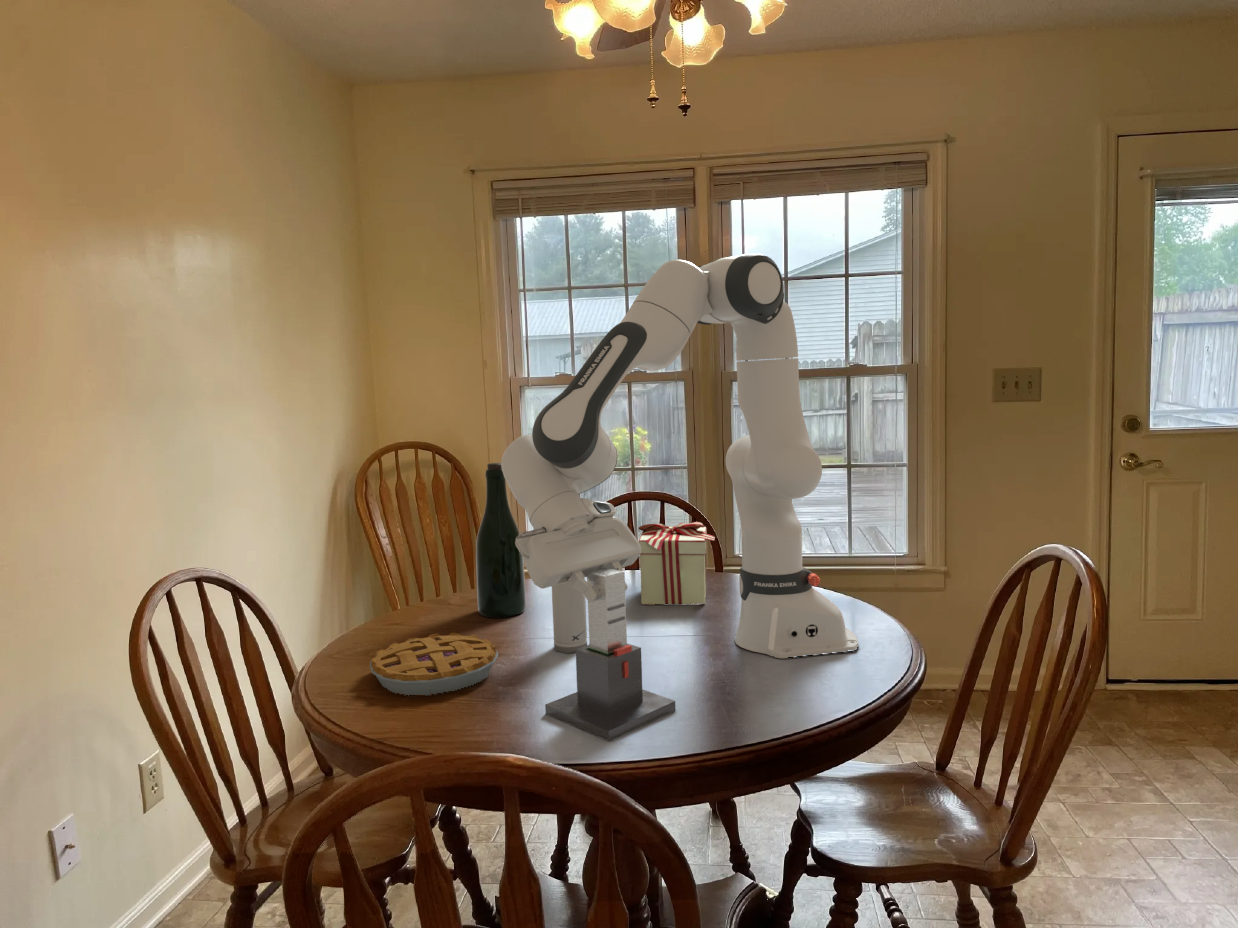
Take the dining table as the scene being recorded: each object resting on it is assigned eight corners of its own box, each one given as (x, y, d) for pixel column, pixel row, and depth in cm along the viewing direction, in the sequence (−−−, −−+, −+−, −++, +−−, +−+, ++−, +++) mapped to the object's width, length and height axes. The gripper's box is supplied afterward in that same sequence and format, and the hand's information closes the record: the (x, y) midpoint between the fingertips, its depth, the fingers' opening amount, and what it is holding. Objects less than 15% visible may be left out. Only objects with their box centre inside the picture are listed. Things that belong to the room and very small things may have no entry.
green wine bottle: (525, 603, 185) (518, 459, 181) (527, 616, 174) (520, 464, 171) (478, 607, 183) (470, 461, 179) (478, 620, 173) (469, 466, 169)
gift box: (640, 610, 176) (637, 532, 174) (640, 588, 195) (638, 517, 193) (718, 609, 176) (717, 530, 174) (712, 586, 194) (710, 515, 192)
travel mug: (584, 653, 150) (580, 547, 148) (550, 652, 151) (545, 547, 149) (592, 642, 156) (588, 540, 154) (559, 641, 157) (555, 540, 155)
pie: (357, 670, 146) (355, 643, 145) (473, 646, 157) (471, 621, 156) (389, 711, 127) (387, 680, 127) (518, 681, 138) (517, 652, 138)
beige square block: (609, 676, 126) (606, 567, 124) (629, 683, 123) (625, 571, 121) (590, 684, 123) (585, 572, 121) (609, 692, 120) (605, 577, 118)
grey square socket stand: (611, 687, 134) (609, 623, 132) (675, 710, 124) (673, 641, 122) (545, 713, 124) (542, 645, 123) (609, 741, 114) (606, 666, 113)
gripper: (518, 521, 118) (565, 598, 112) (619, 502, 132) (665, 569, 126) (502, 547, 122) (546, 623, 116) (601, 526, 136) (645, 593, 130)
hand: (609, 595), depth 121 cm, fingers closed on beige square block, 4 cm apart
